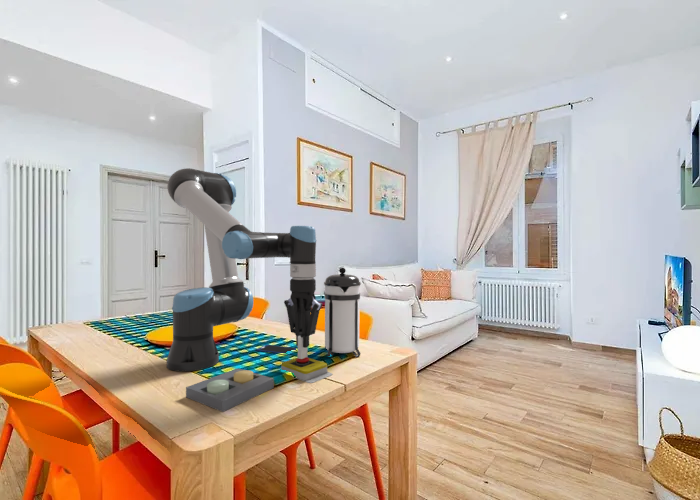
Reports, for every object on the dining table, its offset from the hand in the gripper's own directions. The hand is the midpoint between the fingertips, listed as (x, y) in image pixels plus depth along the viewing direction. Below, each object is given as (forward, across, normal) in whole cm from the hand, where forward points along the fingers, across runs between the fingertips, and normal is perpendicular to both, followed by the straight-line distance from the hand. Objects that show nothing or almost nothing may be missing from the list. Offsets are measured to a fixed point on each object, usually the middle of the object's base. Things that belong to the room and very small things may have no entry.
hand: (302, 357), depth 105 cm
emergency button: (+5, +1, 0) cm, 5 cm away
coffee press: (+5, -2, +23) cm, 24 cm away
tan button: (+4, -6, -17) cm, 18 cm away
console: (+4, -6, -21) cm, 22 cm away
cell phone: (+5, -22, +12) cm, 26 cm away
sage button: (+4, -6, -25) cm, 26 cm away
